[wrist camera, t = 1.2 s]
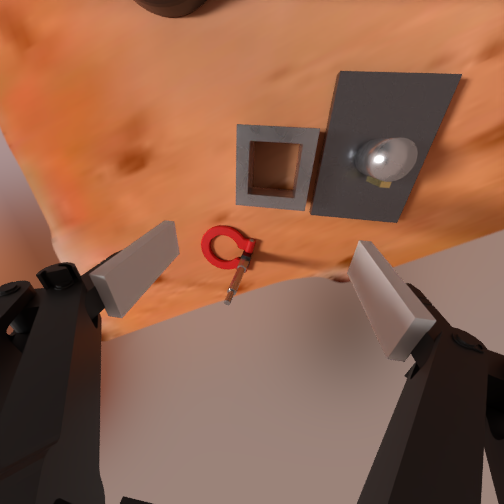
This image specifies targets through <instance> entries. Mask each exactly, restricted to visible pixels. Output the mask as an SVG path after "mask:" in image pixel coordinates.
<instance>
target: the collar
mask: <svg viewBox="0 0 504 504" xmlns="http://www.w3.org/2000/svg"><path fill="white" fill-rule="evenodd" d="M319 131H320V129H317V128H298V127H279V126H260V125H242V124H237V149H236V205H244V206H255V207H266V208H277V209H288V210H299V211H305V206H306V200H307V195H308V190H309V184H310V179H311V174H312V169H313V163H314V158H315V153H316V147H317V142H318V137H319ZM255 141H262V142H279V143H296V144H300V146H299V152H298V159H297V166H296V172H295V179H294V186H293V190H286V189H274V188H261V187H253V170H254V151H255Z"/></svg>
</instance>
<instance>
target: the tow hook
mask: <svg viewBox="0 0 504 504" xmlns="http://www.w3.org/2000/svg"><path fill="white" fill-rule="evenodd" d="M218 235H226V236H229V237H230V238H232V239H233V240H234V241H235V242H236V243H237V245H238V248H240V249H243V250H244V251H243V254H242V256H241V259H240V258H238V257H237V258H235V259H233V260H230V261H224V260H221V259H219V258H217V257H216V256H215V255H214V254H213V252H212V250H211V247H210V243H211V240H212V238H213V237H215V236H218ZM255 242H256V241H255V240H254V239H252V238H249V239H246V238H244V237H243V236H242V234H240V233H239V232H238V231H237V230H235V229H234V228H232V227H228V226H221V225H219V226H215V227H212V228H211V229H209V230H208V231H207V232H206V233H205V234H204V236H203V238H202V241H201V248H202V252H203V254H204V256H205V257H206V259H207V260H208V261H209V262H210V263H211V264H212V265H214V266H216V267H218V268H222V269H234V268H236V269H237V271H236V273H235V275H234V278H233V280H232V282H231V284H230V286H229V288H228V291H227V292H228V294H227V297H226V299H225V301H224V303H225V304H226V305H229V304H230V303H231V300H232V298H233V295H235V294H236V292H237V289H238V287H239V284H240V282H241V279H242V277H243V274H244V273H245V272H246V271H247V268H248V265H249V263H250V260H251V257H252V254H253V249H254V246H255Z"/></svg>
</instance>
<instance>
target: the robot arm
mask: <svg viewBox="0 0 504 504" xmlns="http://www.w3.org/2000/svg"><path fill="white" fill-rule="evenodd" d="M134 1H135V2H136V3H137V4H139V5H140V6H141V7H143V8H144V9H146V10H148V11H150V12H152V13H154V14H157V15H160V16H165V17H179V16H183V15H186V14H189V13H191V12H193V11H195V10H196V9H198V8H199V7H200V6H201V5H203V4H204V3H205V2H206V1H207V0H134ZM178 255H179V247H178V241H177V235H176V229H175V223H174V221H163V222H162V223H160V224H159V225H157V226H156V227H155V228H153V229H152V230H150V231H149V232H148V233H146V234H145V235H143V236H142V237H140V238H139V239H138V240H136V241H135V242H133V243H132V244H131V245H129V246H128V247H126V248H125V249H124V250H121V251H119V252H116V253H114V254H112V255H111V256H109V257H108V258H106V260H104V261H102V262H101V263H100V264H98V265H96V266H95V267H93V268H92V269H91V270H89V271H88V272H86V273H85V274H83V275H82V276H80V274H79V272H78V270H77V268H76V266H75V264H73V263H68V262H65V263H58V264H55V265H51V266H49V267H46V268H44V269H42V270H41V271H39V272H38V273H37V274H36V276H37V277H38V279H39V281H40V282H41V284H42V285H43V287H44V288H41V289H34V288H33V287H32V285H31V284H30V282H28V281H16V282H10V283H8V284H4V285H2V286H1V287H0V504H105V495H104V488H103V484H102V481H101V477H100V471H99V446H100V440H99V439H100V380H101V375H100V374H101V316H100V314H99V313H100V312H101V311H102V310H103V309H104V308H105V309H106V312H107V314H108V316H112V317H118V318H123V317H124V315H125V314H126V313H127V312H128V311H129V310H130V309H131V308H132V306H133V305H134V304H135V303H136V302H137V301H138V300H139V298H140V297H141V296H142V295H143V294H144V293H145V292H146V291H147V289H148V288H149V287H150V286H151V285H152V284H153V283H154V282H155V280H156V279H157V278H158V277H159V276H160V275H161V274H162V273H163V271H164V270H165V269H166V268H167V267H168V266H169V265H170V264H171V262H172V261H173V260H174V259H175V258H176V257H177V256H178ZM347 274H348V276H349V278H350V280H351V282H352V285H353V287H354V289H355V291H356V293H357V295H358V298H359V299H360V302H361V304H362V306H363V308H364V310H365V313H366V315H367V317H368V319H369V321H370V323H371V326H372V328H373V330H374V332H375V334H376V336H377V339H378V341H379V343H380V345H381V347H382V350H383V352H384V354H385V356H386V358H387V359H390V360H397V361H403V362H405V360H406V359H407V358H408V357H409V355H410V354H412V356H413V358H414V360H415V361H416V363H415V364H414V365H413V366H412V367H411V368H410V370H409V371H408V372H407V373H406V374H405V377H407V381H406V383H405V385H404V388H403V390H402V393H401V396H400V398H399V400H398V403H397V405H396V408H395V410H394V413H393V415H392V418H391V420H390V423H389V425H388V428H387V430H386V433H385V435H384V438H383V440H382V443H381V445H380V447H379V450H378V452H377V455H376V457H375V460H374V463H373V465H372V467H371V470H370V472H369V475H368V477H367V480H366V483H365V485H364V487H363V490H362V492H361V495H360V497H359V500H358V502H357V504H481V490H482V472H483V471H482V470H483V452H484V448H485V452H486V456H487V460H488V464H489V468H490V472H491V476H492V480H493V483H494V487H495V491H496V495H497V499H498V503H499V504H504V355H501V354H498V353H496V352H493V351H490V350H487V348H486V347H485V346H484V344H483V343H482V342H481V341H479V340H478V339H477V338H476V337H474V336H472V335H470V334H469V333H467V332H465V331H462V330H460V329H458V328H453V327H452V326H450V324H449V323H448V322H447V321H446V319H445V318H444V317H443V316H442V315H441V314H440V313H439V311H438V310H437V309H436V308H435V307H434V306H432V304H431V302H429V300H428V299H426V297H425V296H424V295H423V293H422V292H421V291H420V290H419V289H417V288H415V287H414V286H413V285H412V284H409V283H405V282H404V281H403V280H402V278H401V277H400V276H399V275H398V273H397V272H396V271H395V270H394V269H393V267H392V266H391V265H390V264H389V263H388V261H387V260H386V259H385V258H384V257H383V255H382V254H381V253H380V252H379V250H378V249H377V248H376V247H375V246H374V244H373V243H372V242H371V241H361V240H359V242H358V245H357V248H356V250H355V253H354V256H353V259H352V261H351V264H350V267H349V269H348V272H347ZM9 325H10V326H11V327H12V328H13V329H14V331H13V332H12V333H11V334H10V335H8V334H7V333H6V332H7V331H6V330H7V328H8V326H9ZM120 504H152V503H148V502H144V501H140V500H136V499H132V498H128V497H123V498H122V500H121V502H120Z"/></svg>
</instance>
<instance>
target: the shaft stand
mask: <svg viewBox="0 0 504 504" xmlns="http://www.w3.org/2000/svg"><path fill="white" fill-rule="evenodd" d="M461 76H462V74H436V73H397V72H358V71H340V72H339V73H338V75H337V78H336V83H335V88H334V93H333V98H332V103H331V108H330V113H329V118H328V123H327V128H326V133H325V137H324V142H323V147H322V152H321V157H320V162H319V167H318V172H317V177H316V182H315V187H314V192H313V197H312V202H311V207H310V214H311V215H318V216H329V217H340V218H350V219H361V220H372V221H383V222H393V223H397V222H398V220H399V217H400V215H401V213H402V210H403V208H404V206H405V204H406V201H407V199H408V197H409V194H410V192H411V190H412V188H413V185H414V183H415V181H416V179H417V176H418V174H419V172H420V169H421V167H422V165H423V163H424V160H425V158H426V156H427V154H428V151H429V149H430V147H431V144H432V142H433V140H434V138H435V135H436V133H437V131H438V129H439V126H440V124H441V122H442V119H443V117H444V115H445V113H446V110H447V108H448V106H449V103H450V101H451V99H452V97H453V94H454V92H455V90H456V88H457V85H458V83H459V81H460V78H461Z"/></svg>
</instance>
